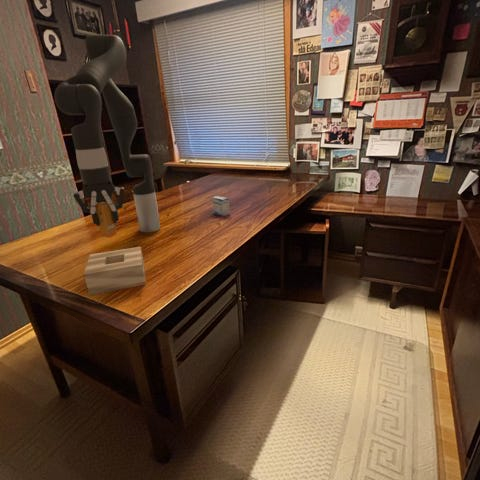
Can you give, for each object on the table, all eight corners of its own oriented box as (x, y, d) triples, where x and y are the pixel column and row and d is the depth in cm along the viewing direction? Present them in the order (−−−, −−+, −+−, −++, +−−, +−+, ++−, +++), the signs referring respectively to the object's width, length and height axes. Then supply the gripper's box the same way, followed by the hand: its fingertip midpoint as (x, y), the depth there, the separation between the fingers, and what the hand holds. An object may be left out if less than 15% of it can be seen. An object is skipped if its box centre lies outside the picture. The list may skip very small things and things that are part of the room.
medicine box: (213, 213, 156) (211, 197, 152) (219, 211, 159) (218, 195, 155) (223, 216, 151) (222, 199, 147) (229, 214, 154) (228, 197, 150)
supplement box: (118, 234, 91) (111, 202, 87) (109, 238, 89) (101, 205, 85) (110, 232, 93) (103, 201, 89) (101, 236, 90) (93, 204, 86)
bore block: (94, 273, 101) (89, 254, 98) (144, 264, 105) (140, 246, 102) (89, 295, 88) (83, 274, 85) (145, 284, 93) (141, 264, 90)
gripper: (121, 161, 88) (132, 216, 95) (67, 165, 84) (82, 223, 91) (120, 165, 81) (132, 224, 88) (62, 170, 77) (78, 231, 84)
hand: (106, 223), depth 89 cm, fingers closed on supplement box, 4 cm apart
